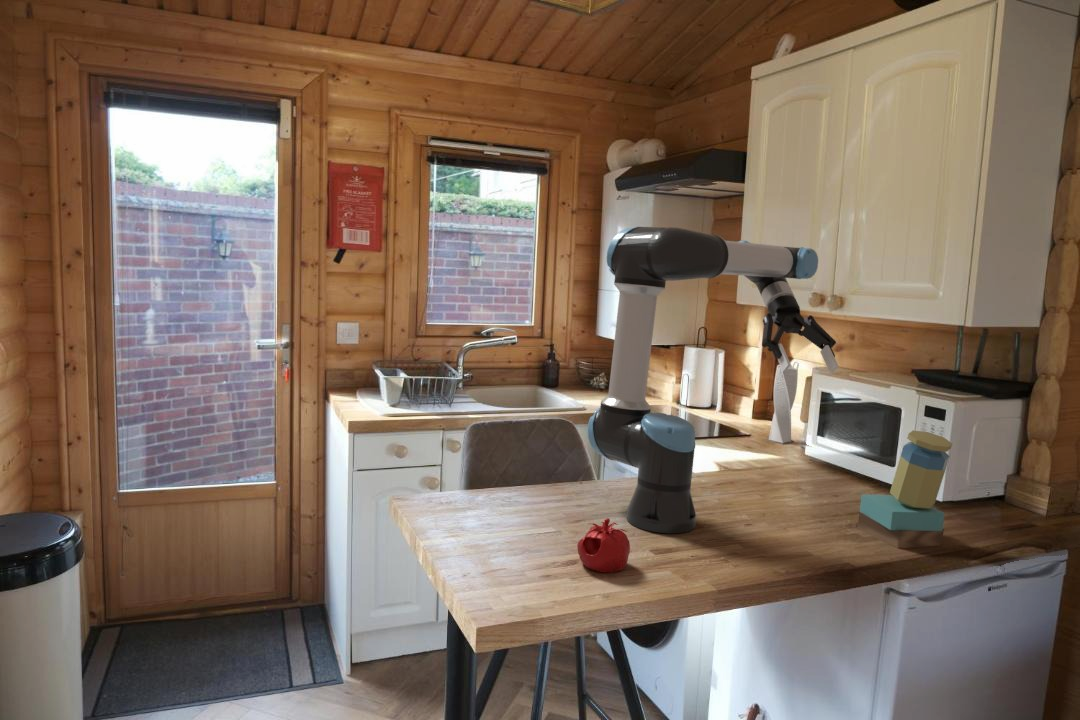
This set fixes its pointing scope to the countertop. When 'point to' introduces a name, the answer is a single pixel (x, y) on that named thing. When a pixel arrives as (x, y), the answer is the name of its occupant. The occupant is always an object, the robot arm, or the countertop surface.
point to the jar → (921, 469)
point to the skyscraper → (783, 404)
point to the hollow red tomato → (604, 548)
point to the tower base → (899, 534)
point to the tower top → (900, 514)
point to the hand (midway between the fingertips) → (810, 368)
